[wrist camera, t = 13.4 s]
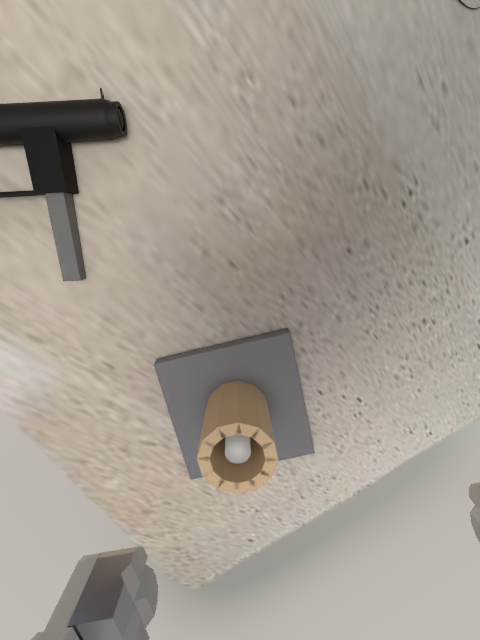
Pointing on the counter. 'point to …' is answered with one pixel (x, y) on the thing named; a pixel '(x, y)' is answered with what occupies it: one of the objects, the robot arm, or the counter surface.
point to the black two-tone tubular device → (59, 159)
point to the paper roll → (231, 419)
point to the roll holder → (227, 366)
